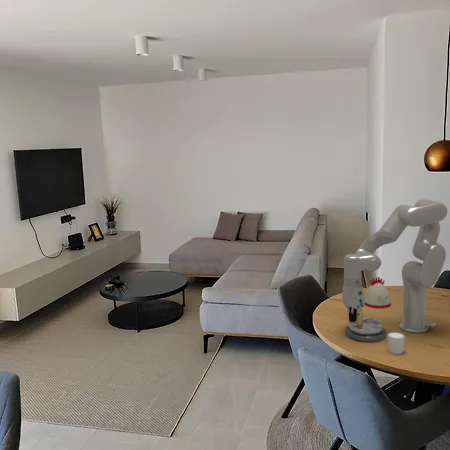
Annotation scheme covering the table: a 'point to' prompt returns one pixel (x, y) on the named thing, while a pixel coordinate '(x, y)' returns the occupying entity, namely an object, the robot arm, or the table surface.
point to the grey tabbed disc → (366, 326)
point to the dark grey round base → (365, 338)
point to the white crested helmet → (377, 295)
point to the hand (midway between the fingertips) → (352, 321)
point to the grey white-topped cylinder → (396, 342)
